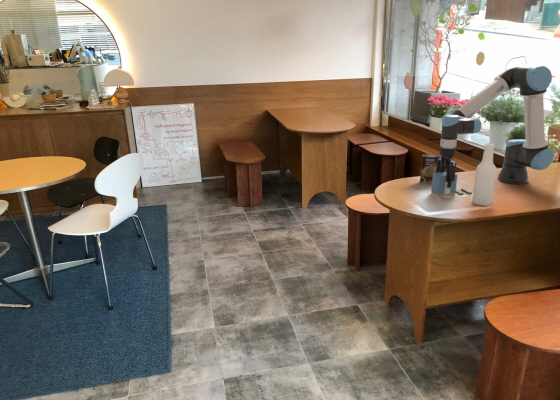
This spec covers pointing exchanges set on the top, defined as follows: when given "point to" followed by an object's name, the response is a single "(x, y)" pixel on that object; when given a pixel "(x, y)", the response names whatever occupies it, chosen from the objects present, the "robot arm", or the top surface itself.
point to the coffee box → (428, 168)
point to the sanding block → (442, 185)
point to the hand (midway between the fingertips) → (443, 191)
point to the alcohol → (485, 178)
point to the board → (455, 195)
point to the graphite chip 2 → (466, 191)
